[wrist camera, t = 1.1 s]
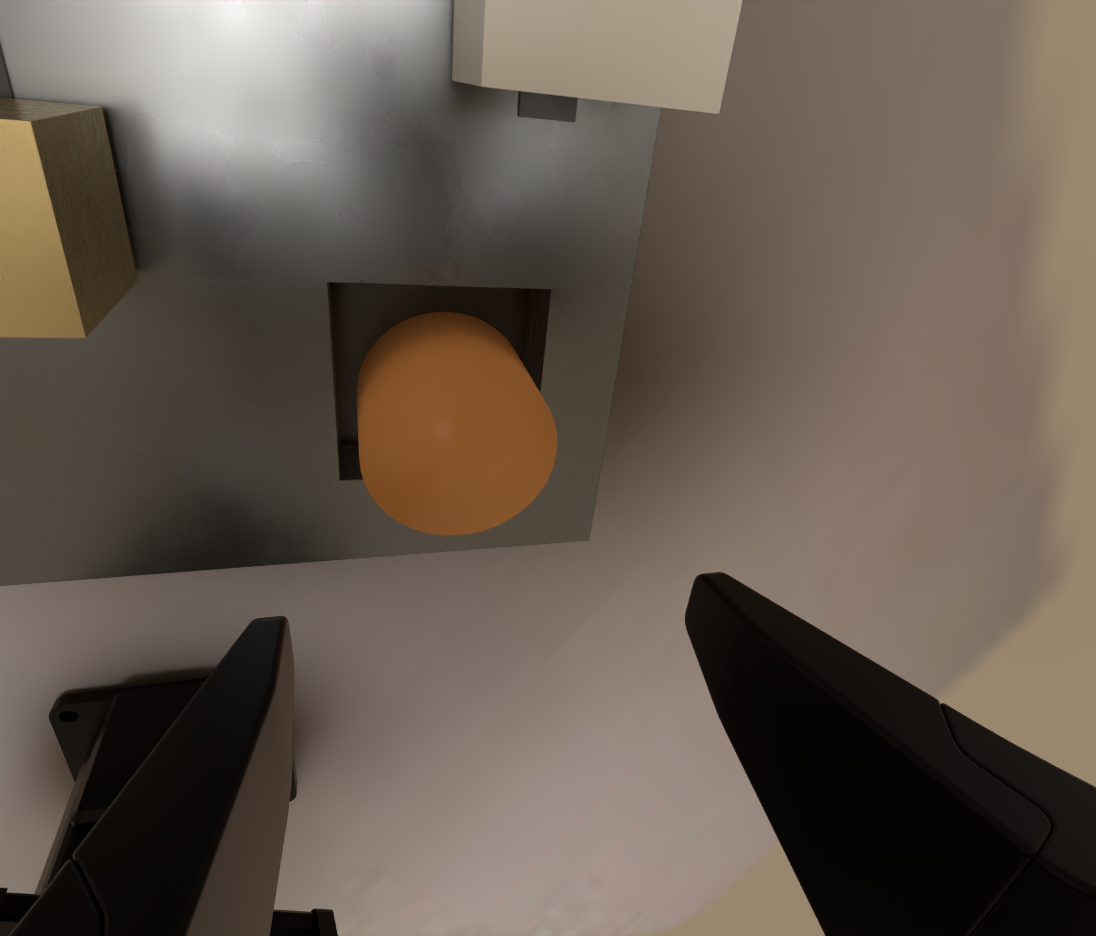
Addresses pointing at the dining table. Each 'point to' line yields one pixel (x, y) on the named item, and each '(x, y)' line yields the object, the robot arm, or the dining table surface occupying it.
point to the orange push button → (451, 426)
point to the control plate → (297, 275)
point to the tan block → (59, 221)
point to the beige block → (599, 49)
